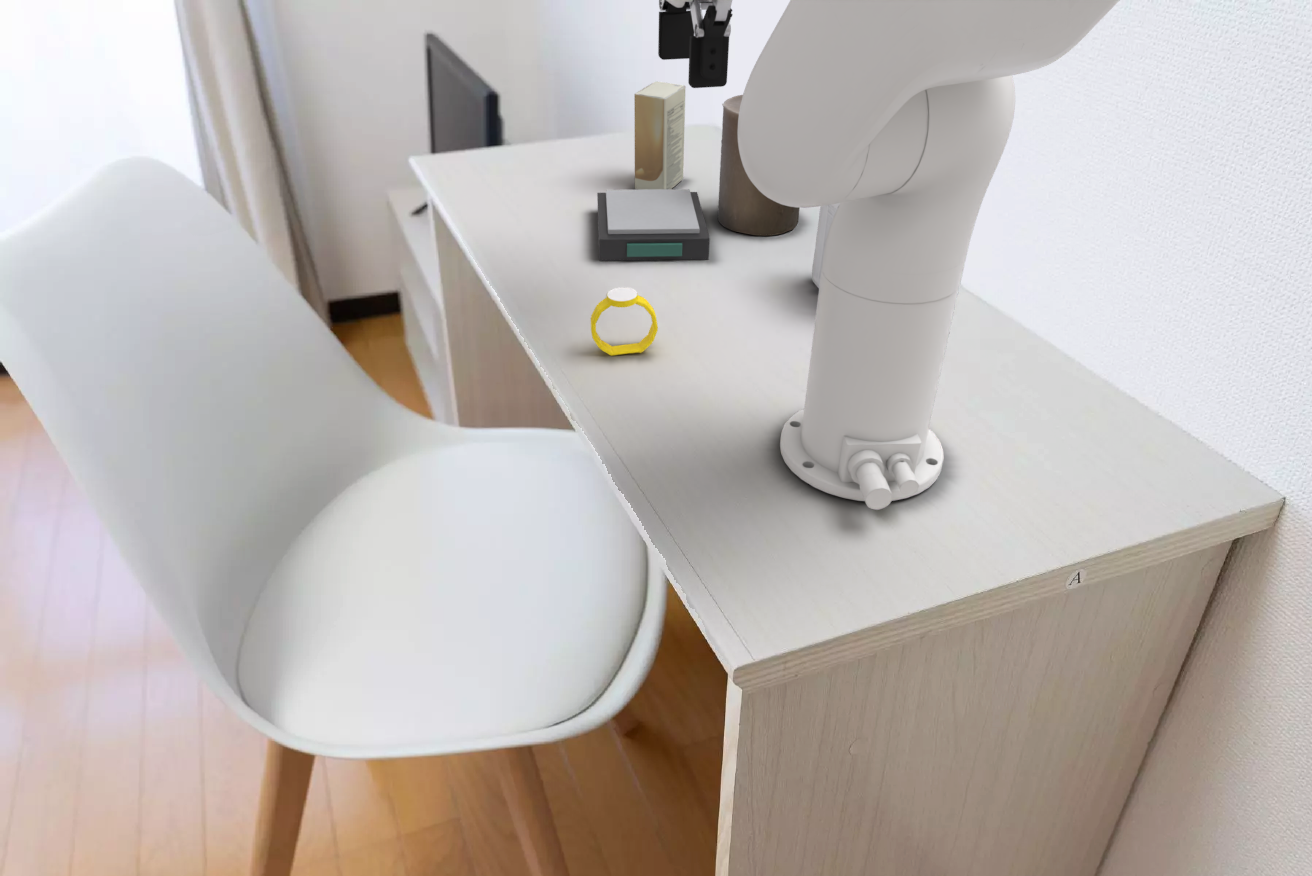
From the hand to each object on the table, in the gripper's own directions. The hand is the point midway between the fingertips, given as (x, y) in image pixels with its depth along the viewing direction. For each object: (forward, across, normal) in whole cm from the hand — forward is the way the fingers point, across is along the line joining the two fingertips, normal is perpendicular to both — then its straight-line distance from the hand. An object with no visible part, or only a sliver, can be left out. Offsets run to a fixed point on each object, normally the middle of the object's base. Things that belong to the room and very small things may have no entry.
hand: (690, 71), depth 85 cm
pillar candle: (+23, -19, +15) cm, 33 cm away
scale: (+22, -18, +1) cm, 29 cm away
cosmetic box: (+23, -33, +6) cm, 40 cm away
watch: (+23, +8, -8) cm, 25 cm away
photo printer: (+23, +3, +16) cm, 28 cm away
